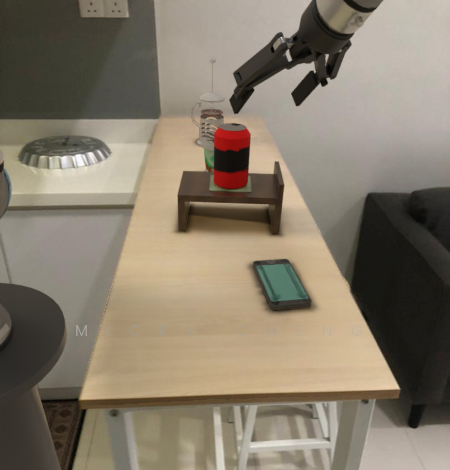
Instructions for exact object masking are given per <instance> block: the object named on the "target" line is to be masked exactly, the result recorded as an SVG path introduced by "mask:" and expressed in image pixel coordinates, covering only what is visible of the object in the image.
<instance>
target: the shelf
mask: <svg viewBox="0 0 450 470" xmlns="http://www.w3.org/2000/svg"><path fill="white" fill-rule="evenodd" d="M181 174H182V175H181V178H180V183H179V187H178V191H177V226H178V232H186V230H187V224H188V219H189V214H190V207H191V203H209V204H214V203H215V204H239V205H240V204H242V205H268V206H267V208H268V209H267V210H268V216H269V223H270V229H271V235H272V236H273V235H276V236H279V235H280V228H281V221H282V212H283V211H282V210H283V202H284V192H285V181H284V177H283V172H282V169H281V164H280V161H277V160H275V161H274V165H273V173H258V172H256V173H254V172H248V183H247V184H246V186H244V187H242V188H239V189H225V188H221V187H218V186H217V185H216V184H215V183H214V181H213V179H214V172H206V171H197V170H183V171H182V173H181Z"/></svg>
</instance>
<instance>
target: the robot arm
mask: <svg viewBox="0 0 450 470" xmlns="http://www.w3.org/2000/svg"><path fill="white" fill-rule="evenodd" d="M383 1H384V0H311V1H310V2H309V4H308V5H307V7H306V8H305V9H304V11H303V12H302V14H301V15H300V20H299V24H298V25H299V26H298V29H297V31H295V33H293V34H292V35H291V36H290V37H285V36H284V33H283V32H282V31H280V32H279V31H278V32H277V33H276V34H275V35H274V36H273V37H272V38H271V40H270V41H269V42H268V43H267V44H266V45H265V46H263V47H262V48H261V49H260V50H258V51H257V52H256V53H255V54H254V55H252V56H251V57H250V58H249V59H248V60H246V61H245V62H244V63H243V64H242V65H240V66H239V67H238V68H237V69H235V71H233V73H232V75H233V78H234V80H235V81H234V82H235V83H236V86H235V88H234V89H233V93H232V95H231V96H230V97H229V99H228V101H229V104H230V107H231V109H232V111H233V114H234V115H237V114H239V113H240V112H241V111H242V109H243V108H244V106H245V105H246V104H247V102H248V101H249V99H250V98H251V97H252V95H253V94H254V92H255V87H257V86H258V85H261V84H262V83H264V82H266V81H267V80H269V79H271V78H272V77H274V76H275V75H277V74H279V73H280V72H282V71H284V70H288V71H289V70H291V69H294V68H295V67H296V66H298V65H302V64H306V65H308V64H312V63H313V64H314V65H313V66H314V70H309V71H308V73H306V75H305V76H304V77H303V78H302V79H301V81H300V82H299V83H298V84H297V85H296V86H295V88H294V89H293V90H292V92H291V93H290V95H291V98H292V100H293V102H294V105H295V107H300V106H301V105H302V104H303V103H304V101H305V100H306V99H307V98H308V97H309V96H310V95H311V94H312V93H313V92H314V90H316V88H317V87H319V85H320V86H321V88H323V87H324V88H325V87H326V86H327V85H328V84H329V81H328V79H329V80H331V81H332V80H335V79H336V78H337V76H338V74H339V71H340V69H341V66H342V63H343V60H344V58H345V56H346V53H347V52H348V51H349V50H350V48H351V47H352V45H353V44H352V41H351V39H352V38H353V37H354V35H355V33H356V32H357V31H358V30H359V29H360V28H361V27H363V26H364V24H365V23H366V21H367V20H368V19H369V17H370V16H371V15H372V14H374V12H375V10H377V9H378V8H379V7H380V5H381V4H382V3H383ZM287 51H288V53H289V57H290V59H291V60H290V61H289V59H288V56H287ZM327 55H328V56H327ZM326 57H327V59H326ZM12 190H13V189H12V182H11V178H10V175H9V173H8V171H7V169H6V168H5V154H4V152H3V151H2V150H1V149H0V220H1V219H2V218H4V215H5V214H6V212H7V209H9V205H10V202H11V198H12V192H13V191H12ZM12 334H13V324H12V321H11V318H10V315H9V313H8V312H7V310H6V309H5V308H4V307H3V306H2V305H1V304H0V351H2V350H3V349H4V348H5V346H6V345H7V344H8V342H9V341H10V339H11V337H12Z"/></svg>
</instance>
